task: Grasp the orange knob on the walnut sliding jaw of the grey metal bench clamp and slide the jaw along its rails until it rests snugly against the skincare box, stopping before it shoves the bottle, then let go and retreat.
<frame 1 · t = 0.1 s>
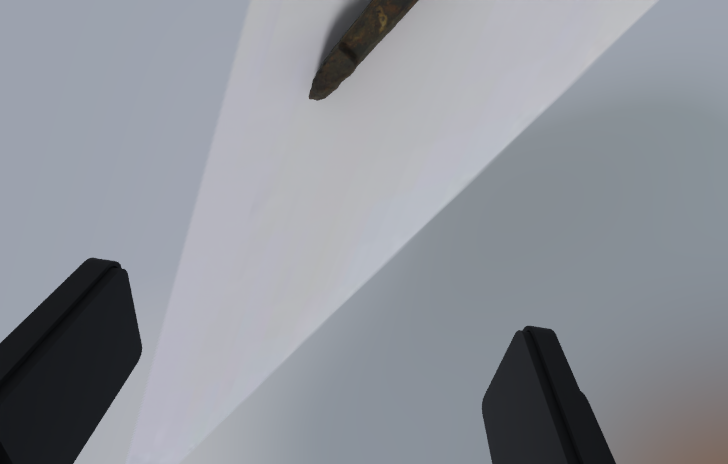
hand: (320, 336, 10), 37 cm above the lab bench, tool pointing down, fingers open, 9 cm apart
hand tool: (380, 23, 40), on the lab bench
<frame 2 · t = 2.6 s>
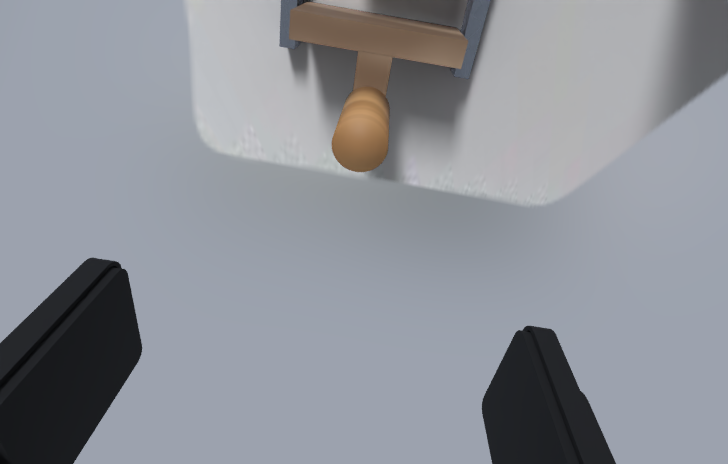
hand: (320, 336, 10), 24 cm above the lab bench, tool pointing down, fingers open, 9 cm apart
sliding jaw: (370, 83, 25), point 6 cm above the lab bench, slide at 0.0 cm
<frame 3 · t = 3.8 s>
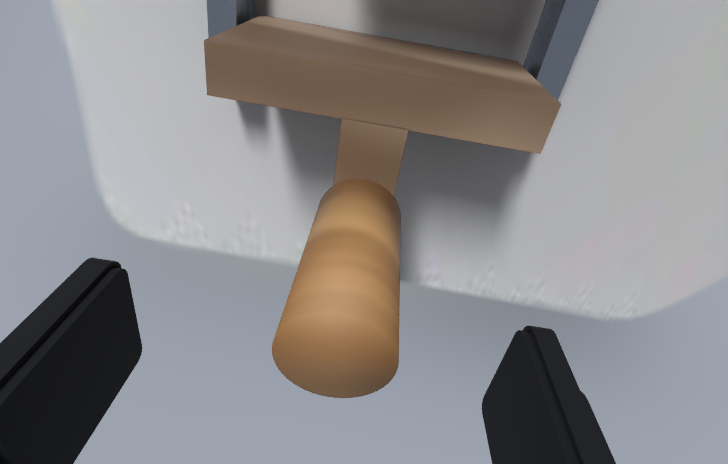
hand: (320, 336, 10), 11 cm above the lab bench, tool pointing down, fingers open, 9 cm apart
sliding jaw: (366, 175, 13), point 6 cm above the lab bench, slide at 0.0 cm
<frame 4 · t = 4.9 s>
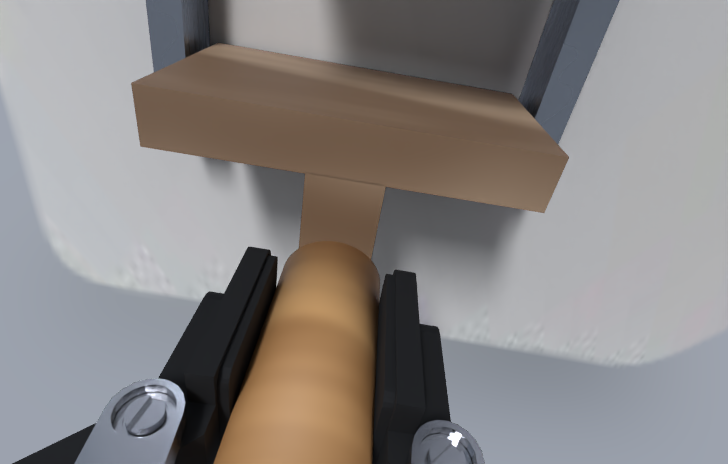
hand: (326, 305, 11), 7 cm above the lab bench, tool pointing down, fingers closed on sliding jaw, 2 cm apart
sliding jaw: (336, 238, 11), point 6 cm above the lab bench, slide at 0.0 cm, touching gripper
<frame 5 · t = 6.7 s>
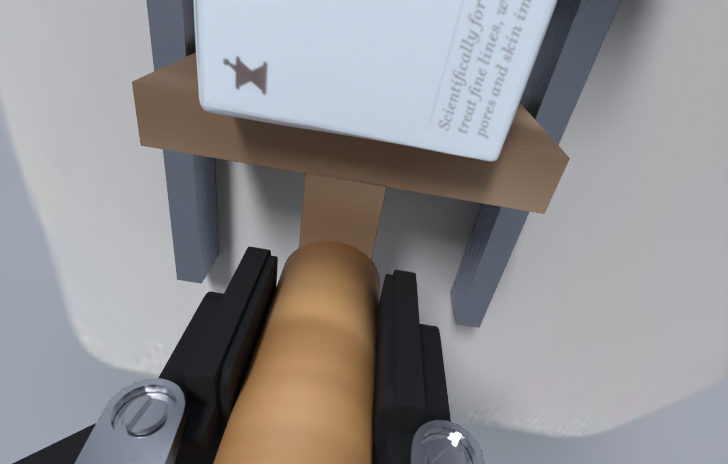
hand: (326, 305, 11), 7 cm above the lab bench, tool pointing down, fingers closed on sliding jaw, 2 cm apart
sliding jaw: (337, 238, 11), point 6 cm above the lab bench, slide at 6.4 cm, touching skincare box, gripper
clamp frame: (362, 100, 15), on the lab bench
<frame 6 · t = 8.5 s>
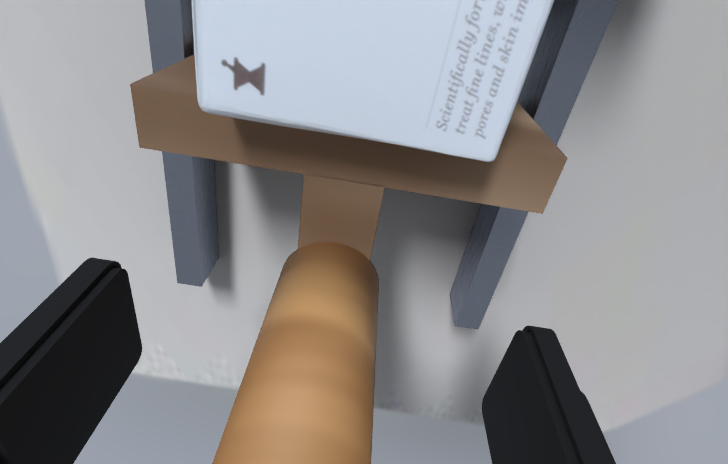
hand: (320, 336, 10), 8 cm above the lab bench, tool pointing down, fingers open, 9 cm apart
sliding jaw: (335, 239, 11), point 6 cm above the lab bench, slide at 6.5 cm
clamp frame: (360, 104, 15), on the lab bench
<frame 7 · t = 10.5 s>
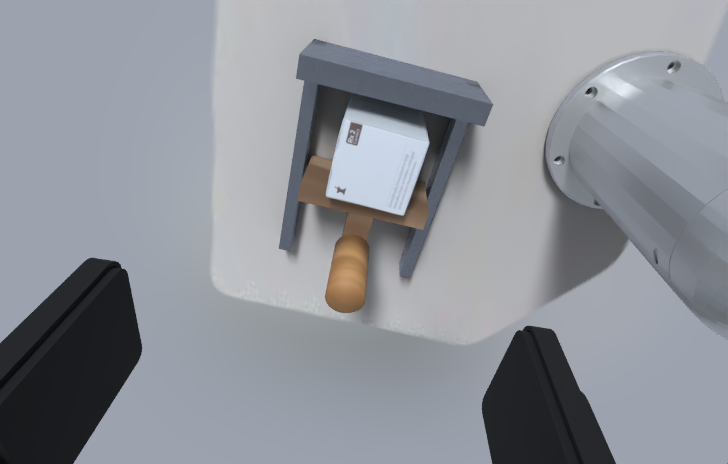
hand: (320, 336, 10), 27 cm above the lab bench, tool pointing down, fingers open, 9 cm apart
sliding jaw: (356, 233, 33), point 6 cm above the lab bench, slide at 6.5 cm
skincare box: (378, 134, 35), resting in clamp frame
clamp frame: (365, 180, 37), on the lab bench
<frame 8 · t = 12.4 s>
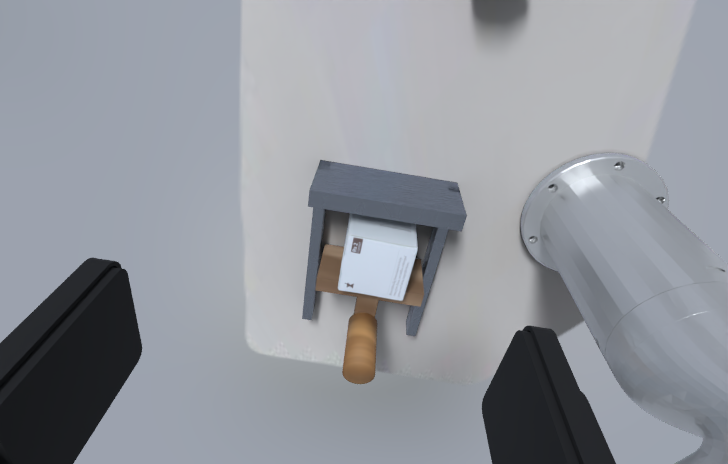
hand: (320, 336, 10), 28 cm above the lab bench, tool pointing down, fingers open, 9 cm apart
sliding jaw: (365, 312, 40), point 6 cm above the lab bench, slide at 6.5 cm
skincare box: (378, 224, 42), resting in clamp frame
clamp frame: (371, 260, 44), on the lab bench
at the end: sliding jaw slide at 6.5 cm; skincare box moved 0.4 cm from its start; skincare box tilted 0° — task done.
